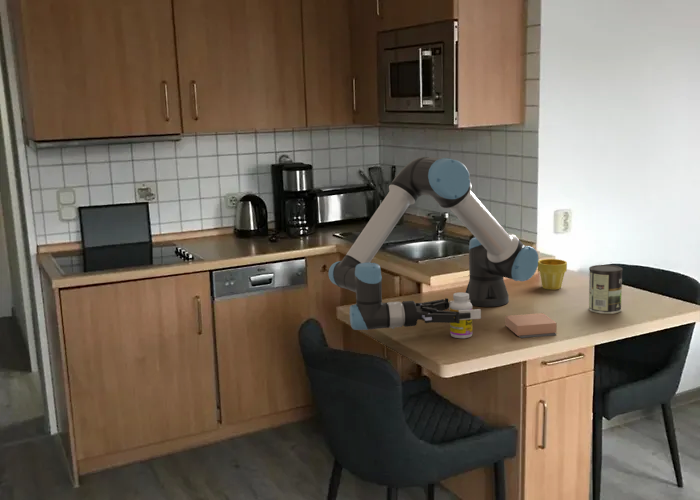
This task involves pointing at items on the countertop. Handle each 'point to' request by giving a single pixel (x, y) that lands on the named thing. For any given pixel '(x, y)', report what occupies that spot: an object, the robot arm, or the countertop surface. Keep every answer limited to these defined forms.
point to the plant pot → (552, 273)
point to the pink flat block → (530, 324)
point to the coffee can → (605, 289)
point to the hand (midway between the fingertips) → (475, 308)
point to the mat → (537, 335)
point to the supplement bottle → (465, 326)
